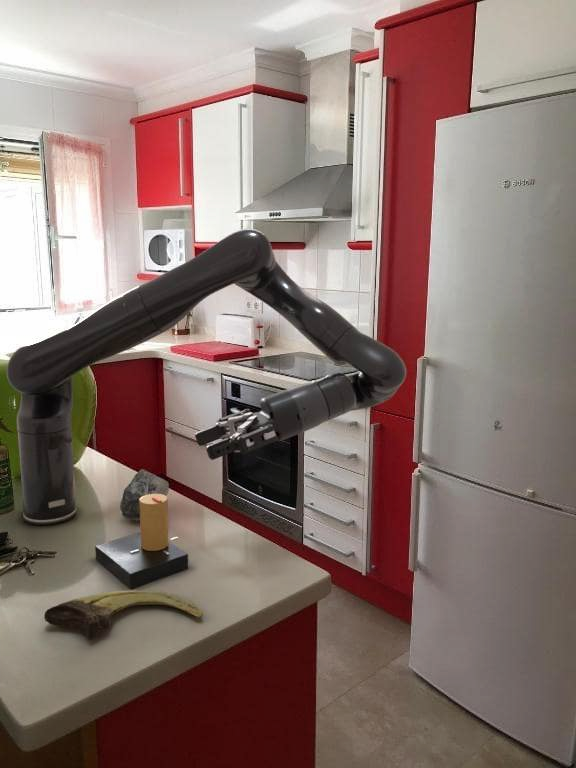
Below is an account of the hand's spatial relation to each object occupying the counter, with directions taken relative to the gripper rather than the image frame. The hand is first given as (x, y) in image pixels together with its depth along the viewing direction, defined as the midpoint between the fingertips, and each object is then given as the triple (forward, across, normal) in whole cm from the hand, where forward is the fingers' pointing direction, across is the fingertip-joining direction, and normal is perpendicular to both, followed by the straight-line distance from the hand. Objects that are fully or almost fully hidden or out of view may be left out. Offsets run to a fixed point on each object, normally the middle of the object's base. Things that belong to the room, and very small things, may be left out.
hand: (202, 446), depth 99 cm
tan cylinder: (+12, -3, +14) cm, 19 cm away
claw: (+19, +12, +15) cm, 27 cm away
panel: (+15, -3, +16) cm, 22 cm away
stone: (+11, -21, +16) cm, 29 cm away
